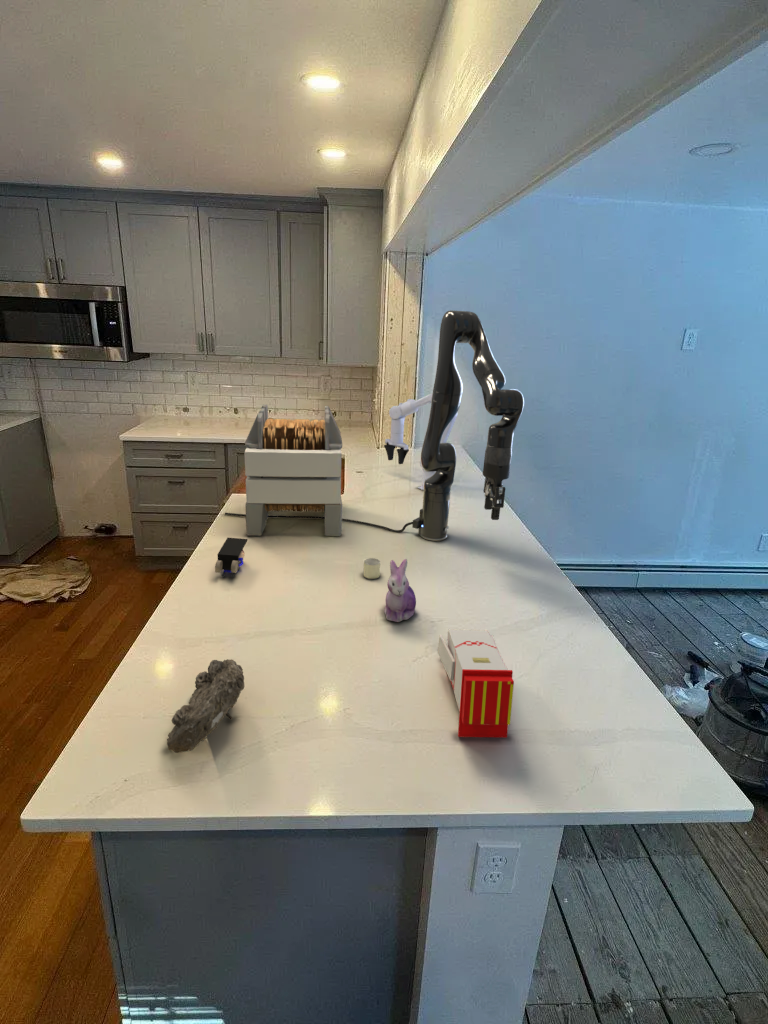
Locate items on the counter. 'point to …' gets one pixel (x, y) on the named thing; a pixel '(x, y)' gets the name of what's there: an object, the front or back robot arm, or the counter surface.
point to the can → (371, 568)
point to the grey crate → (293, 470)
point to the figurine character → (230, 556)
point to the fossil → (206, 705)
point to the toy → (478, 682)
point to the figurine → (399, 594)
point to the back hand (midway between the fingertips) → (395, 461)
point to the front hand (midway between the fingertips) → (491, 514)
